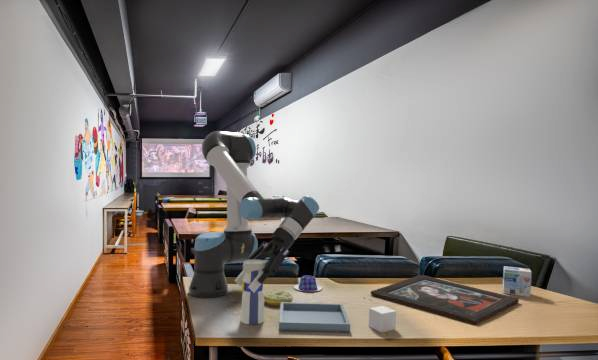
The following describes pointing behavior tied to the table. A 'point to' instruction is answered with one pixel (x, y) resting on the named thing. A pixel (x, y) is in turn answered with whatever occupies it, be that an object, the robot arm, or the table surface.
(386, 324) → the white cube
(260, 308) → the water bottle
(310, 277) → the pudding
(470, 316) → the religious icon
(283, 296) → the decorated donut
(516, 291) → the light bulb box
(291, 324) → the blue-gray tray
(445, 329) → the table surface
